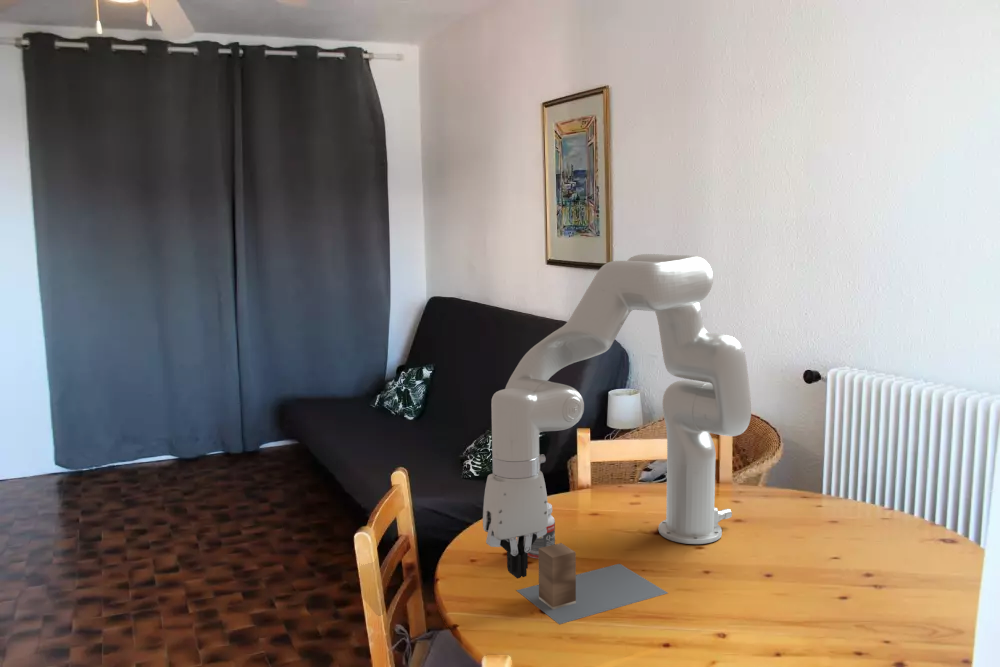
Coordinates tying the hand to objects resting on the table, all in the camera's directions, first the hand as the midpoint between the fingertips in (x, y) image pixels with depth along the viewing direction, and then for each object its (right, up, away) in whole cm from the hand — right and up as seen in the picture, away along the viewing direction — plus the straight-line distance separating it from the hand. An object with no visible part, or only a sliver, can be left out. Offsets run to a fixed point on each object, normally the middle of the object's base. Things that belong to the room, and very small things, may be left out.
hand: (517, 574), depth 138 cm
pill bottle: (+5, -4, +25) cm, 26 cm away
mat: (+13, -6, +8) cm, 16 cm away
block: (+7, -6, +4) cm, 10 cm away
